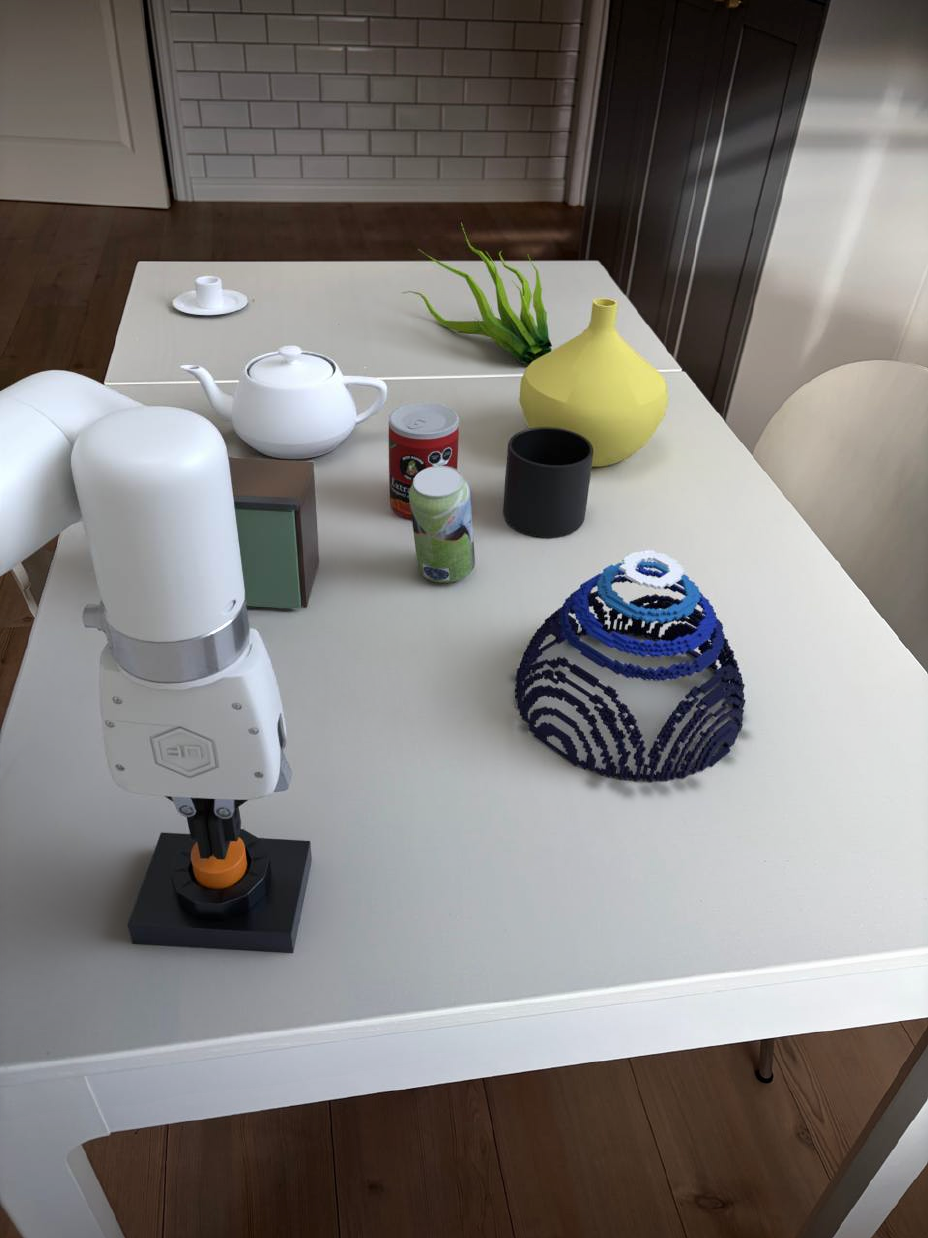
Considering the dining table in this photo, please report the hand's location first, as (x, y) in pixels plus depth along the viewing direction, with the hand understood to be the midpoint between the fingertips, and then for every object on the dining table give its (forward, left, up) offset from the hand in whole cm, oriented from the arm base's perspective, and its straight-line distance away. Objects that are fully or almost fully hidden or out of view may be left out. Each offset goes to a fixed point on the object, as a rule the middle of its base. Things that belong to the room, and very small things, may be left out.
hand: (218, 842), depth 67 cm
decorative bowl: (+31, +24, -7) cm, 40 cm away
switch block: (0, 0, -6) cm, 6 cm away
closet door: (-4, +32, -6) cm, 33 cm away
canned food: (+10, +56, -7) cm, 57 cm away
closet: (-8, +39, -6) cm, 40 cm away
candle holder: (-29, +115, -7) cm, 119 cm away
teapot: (-8, +70, -7) cm, 71 cm away
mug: (+24, +56, -7) cm, 61 cm away
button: (0, 0, -3) cm, 3 cm away
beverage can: (+13, +42, -7) cm, 44 cm away
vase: (+30, +72, -7) cm, 78 cm away
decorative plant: (+14, +108, -7) cm, 109 cm away
